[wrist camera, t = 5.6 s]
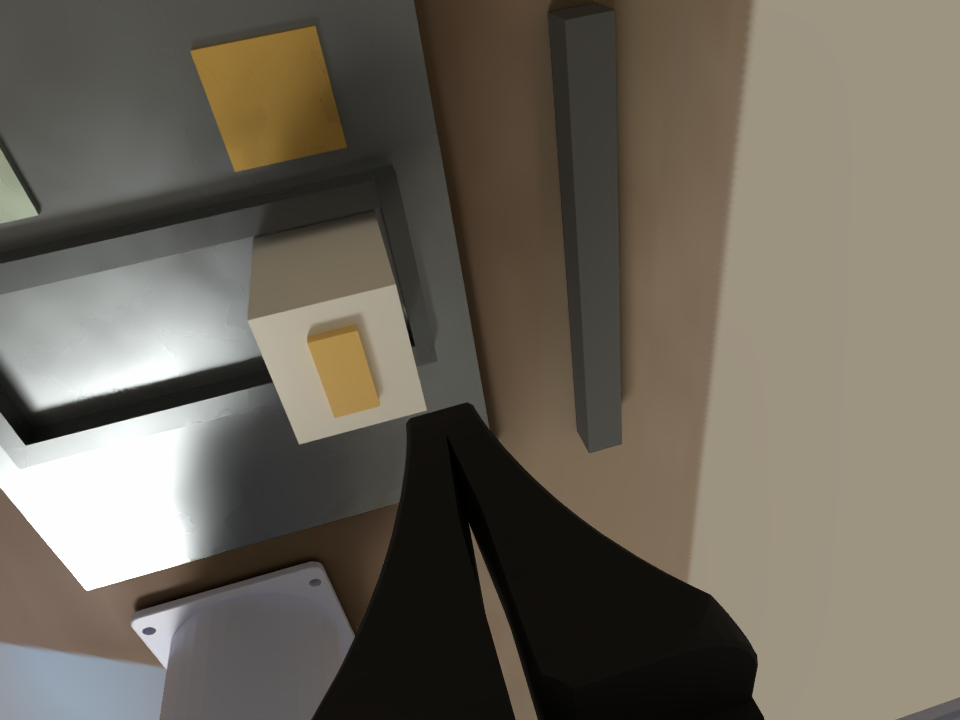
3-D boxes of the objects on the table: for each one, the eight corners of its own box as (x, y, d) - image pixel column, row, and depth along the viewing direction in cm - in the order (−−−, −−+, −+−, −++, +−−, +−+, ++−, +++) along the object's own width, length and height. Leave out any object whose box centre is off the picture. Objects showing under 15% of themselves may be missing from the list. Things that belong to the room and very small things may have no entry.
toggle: (402, 324, 22) (428, 417, 18) (295, 351, 21) (299, 452, 18) (374, 210, 19) (397, 290, 16) (253, 238, 19) (246, 327, 15)
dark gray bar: (608, 422, 28) (621, 444, 27) (577, 430, 28) (589, 453, 27) (595, 2, 19) (615, 10, 18) (548, 12, 19) (565, 20, 18)
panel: (490, 454, 28) (503, 489, 26) (93, 565, 26) (81, 608, 24) (381, -144, 16) (393, -147, 14) (-367, -15, 14) (-450, -2, 12)
